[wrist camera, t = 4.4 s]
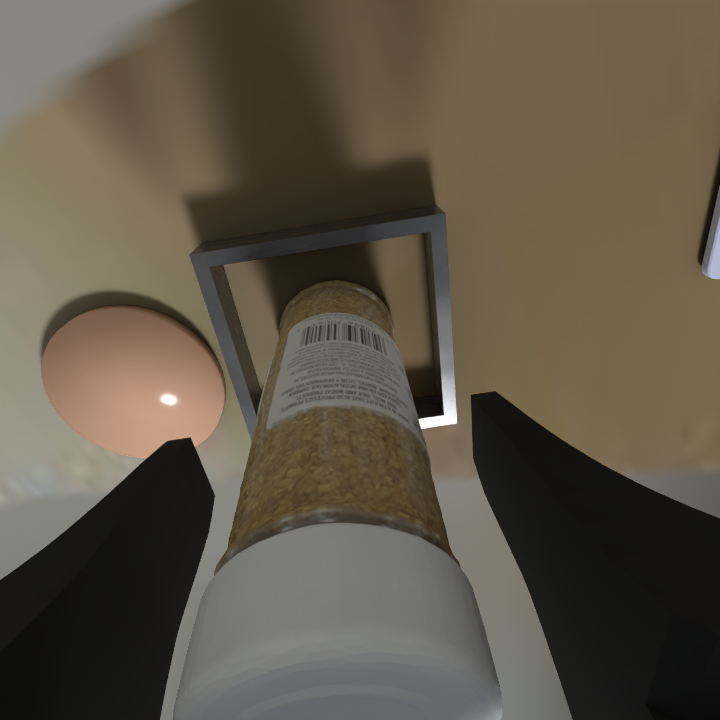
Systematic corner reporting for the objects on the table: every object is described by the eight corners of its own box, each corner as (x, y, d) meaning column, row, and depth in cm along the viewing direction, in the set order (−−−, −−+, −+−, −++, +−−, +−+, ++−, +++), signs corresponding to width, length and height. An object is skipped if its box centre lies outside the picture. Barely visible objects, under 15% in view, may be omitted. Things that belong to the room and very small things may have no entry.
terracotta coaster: (195, 291, 17) (191, 296, 16) (245, 438, 20) (243, 445, 20) (14, 320, 17) (6, 325, 16) (94, 460, 20) (88, 468, 20)
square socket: (436, 205, 16) (445, 213, 14) (448, 403, 20) (456, 423, 18) (201, 243, 16) (189, 254, 15) (261, 430, 20) (255, 452, 19)
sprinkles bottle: (264, 357, 18) (126, 803, 6) (305, 256, 16) (221, 620, 4) (366, 395, 19) (412, 835, 7) (416, 303, 17) (585, 699, 5)
